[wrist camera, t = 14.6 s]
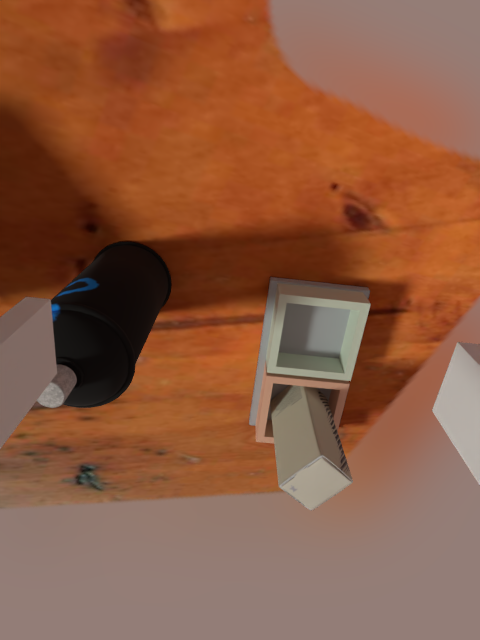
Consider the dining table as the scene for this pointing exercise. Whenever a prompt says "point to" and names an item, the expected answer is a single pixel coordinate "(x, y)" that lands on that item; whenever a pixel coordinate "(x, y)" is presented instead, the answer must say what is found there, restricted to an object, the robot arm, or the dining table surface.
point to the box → (307, 446)
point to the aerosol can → (105, 324)
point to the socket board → (307, 344)
